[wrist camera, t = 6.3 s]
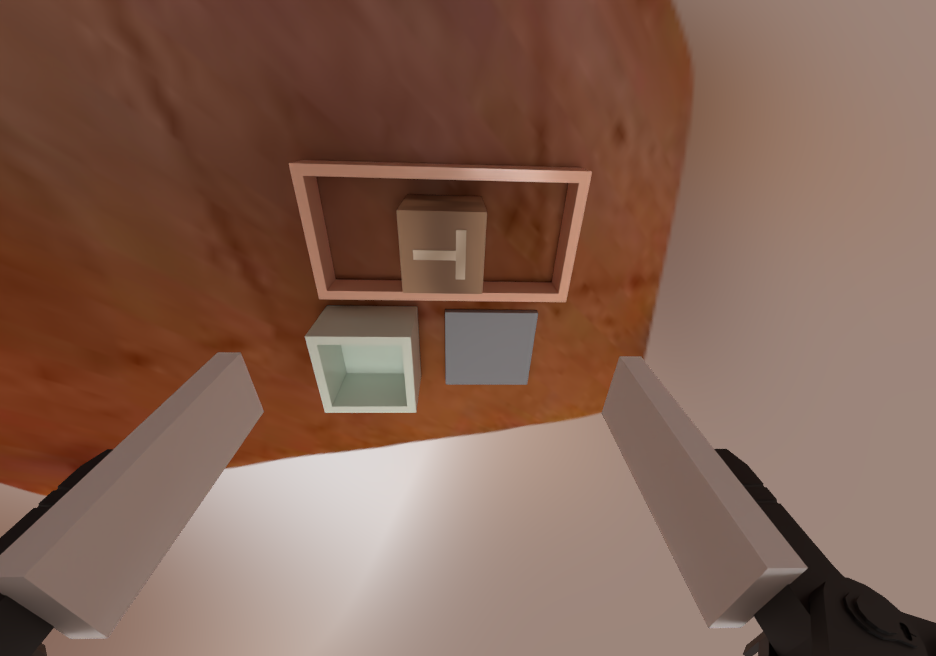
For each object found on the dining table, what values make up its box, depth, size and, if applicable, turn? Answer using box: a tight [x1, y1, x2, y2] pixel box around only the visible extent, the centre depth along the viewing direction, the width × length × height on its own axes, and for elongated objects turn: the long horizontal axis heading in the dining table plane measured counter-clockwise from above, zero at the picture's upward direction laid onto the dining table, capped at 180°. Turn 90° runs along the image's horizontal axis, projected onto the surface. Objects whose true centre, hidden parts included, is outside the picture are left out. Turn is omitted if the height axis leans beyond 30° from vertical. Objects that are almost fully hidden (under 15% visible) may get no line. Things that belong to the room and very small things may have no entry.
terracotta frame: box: [289, 160, 592, 302], centre depth 28 cm, size 22×11×2 cm, turn 88°
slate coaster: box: [445, 309, 538, 384], centre depth 35 cm, size 9×9×1 cm
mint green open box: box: [305, 305, 421, 413], centre depth 32 cm, size 9×9×6 cm
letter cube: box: [396, 194, 487, 294], centre depth 26 cm, size 6×6×6 cm
